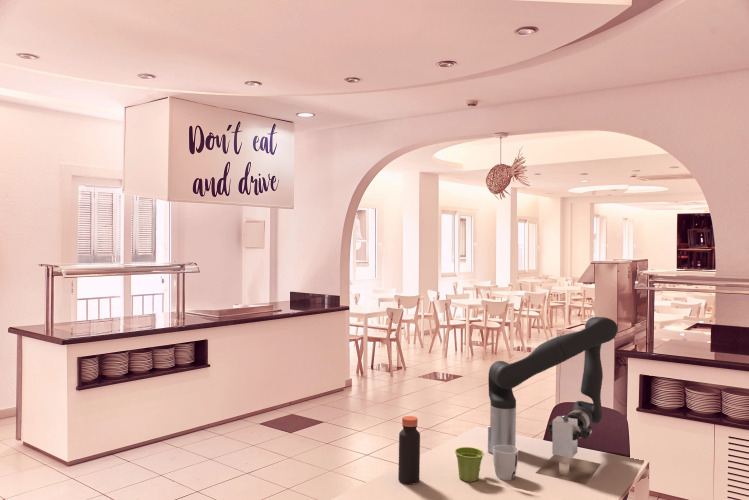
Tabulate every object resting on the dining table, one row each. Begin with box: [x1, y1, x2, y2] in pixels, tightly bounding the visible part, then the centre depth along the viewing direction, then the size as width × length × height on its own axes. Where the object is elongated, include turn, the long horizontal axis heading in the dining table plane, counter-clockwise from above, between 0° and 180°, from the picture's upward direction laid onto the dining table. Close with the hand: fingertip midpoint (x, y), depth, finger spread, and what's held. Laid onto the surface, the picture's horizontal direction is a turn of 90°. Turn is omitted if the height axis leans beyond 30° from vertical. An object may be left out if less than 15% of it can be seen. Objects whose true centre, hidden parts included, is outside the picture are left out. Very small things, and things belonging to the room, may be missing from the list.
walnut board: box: [535, 454, 601, 485], centre depth 193 cm, size 16×22×1 cm
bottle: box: [397, 415, 421, 485], centre depth 182 cm, size 7×7×20 cm
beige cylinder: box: [559, 461, 569, 476], centre depth 188 cm, size 3×3×4 cm
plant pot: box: [454, 446, 485, 483], centre depth 185 cm, size 9×9×9 cm
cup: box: [492, 445, 519, 481], centre depth 184 cm, size 8×8×10 cm
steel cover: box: [551, 414, 578, 458], centre depth 188 cm, size 6×6×12 cm
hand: (563, 435), depth 186 cm, fingers closed on steel cover, 6 cm apart
